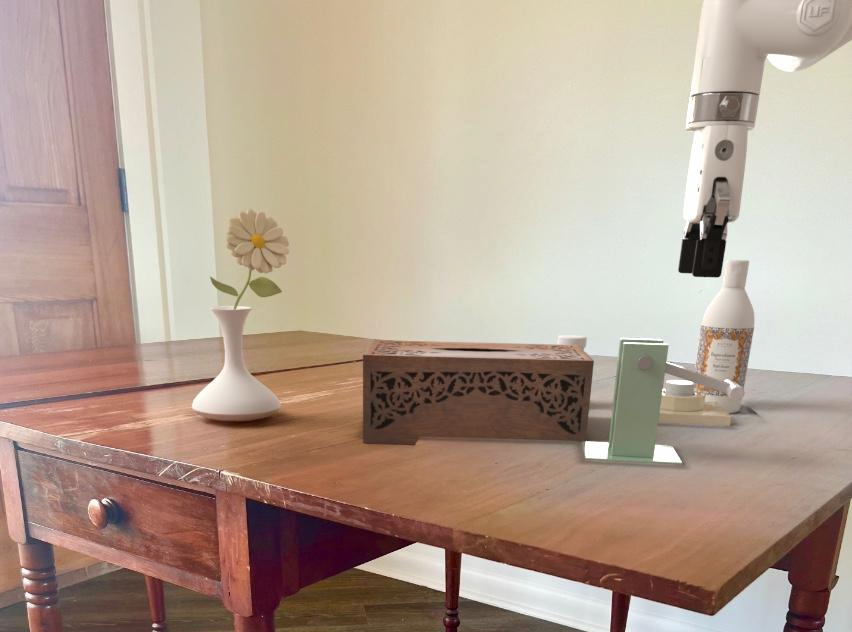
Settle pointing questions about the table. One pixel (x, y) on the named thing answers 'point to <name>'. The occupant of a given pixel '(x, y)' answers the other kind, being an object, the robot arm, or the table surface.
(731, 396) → the flush lever
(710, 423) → the cream pedestal base
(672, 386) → the flush button
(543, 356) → the tissue box cover
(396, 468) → the table surface
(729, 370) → the bath foam
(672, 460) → the lever bracket
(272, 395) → the flower in vase
